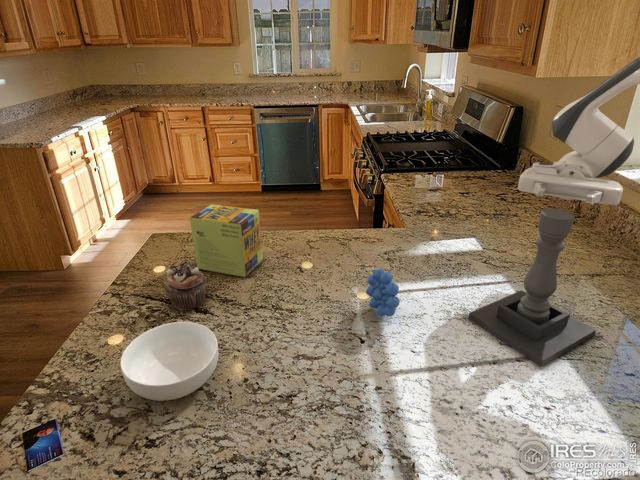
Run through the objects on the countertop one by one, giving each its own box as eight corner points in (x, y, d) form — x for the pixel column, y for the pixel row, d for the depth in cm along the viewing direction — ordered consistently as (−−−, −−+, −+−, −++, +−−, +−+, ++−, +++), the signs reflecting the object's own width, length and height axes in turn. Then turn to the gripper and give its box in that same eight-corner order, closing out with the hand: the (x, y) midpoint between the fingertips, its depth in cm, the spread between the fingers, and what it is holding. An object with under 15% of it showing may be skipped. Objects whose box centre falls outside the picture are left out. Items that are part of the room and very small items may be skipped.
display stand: (594, 335, 89) (600, 318, 87) (541, 366, 81) (546, 348, 79) (520, 295, 103) (523, 279, 101) (468, 318, 95) (471, 301, 93)
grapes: (411, 324, 93) (416, 277, 88) (385, 332, 91) (388, 285, 86) (383, 297, 103) (386, 254, 98) (359, 304, 101) (361, 260, 95)
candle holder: (517, 309, 95) (541, 206, 85) (547, 318, 93) (577, 211, 82) (512, 324, 91) (537, 216, 80) (544, 333, 88) (575, 222, 77)
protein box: (246, 278, 112) (241, 224, 105) (196, 269, 117) (188, 217, 110) (263, 259, 121) (259, 209, 114) (216, 252, 126) (210, 203, 119)
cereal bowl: (113, 378, 80) (104, 349, 76) (193, 338, 90) (188, 310, 87) (153, 433, 69) (145, 401, 65) (239, 379, 79) (235, 349, 76)
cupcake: (217, 297, 104) (212, 261, 100) (185, 317, 97) (179, 279, 92) (191, 286, 109) (185, 251, 104) (159, 304, 102) (151, 267, 97)
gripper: (619, 200, 97) (618, 220, 86) (522, 186, 107) (511, 202, 96) (627, 173, 94) (627, 190, 83) (527, 161, 104) (516, 175, 94)
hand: (564, 197), depth 90 cm, fingers open, 8 cm apart
